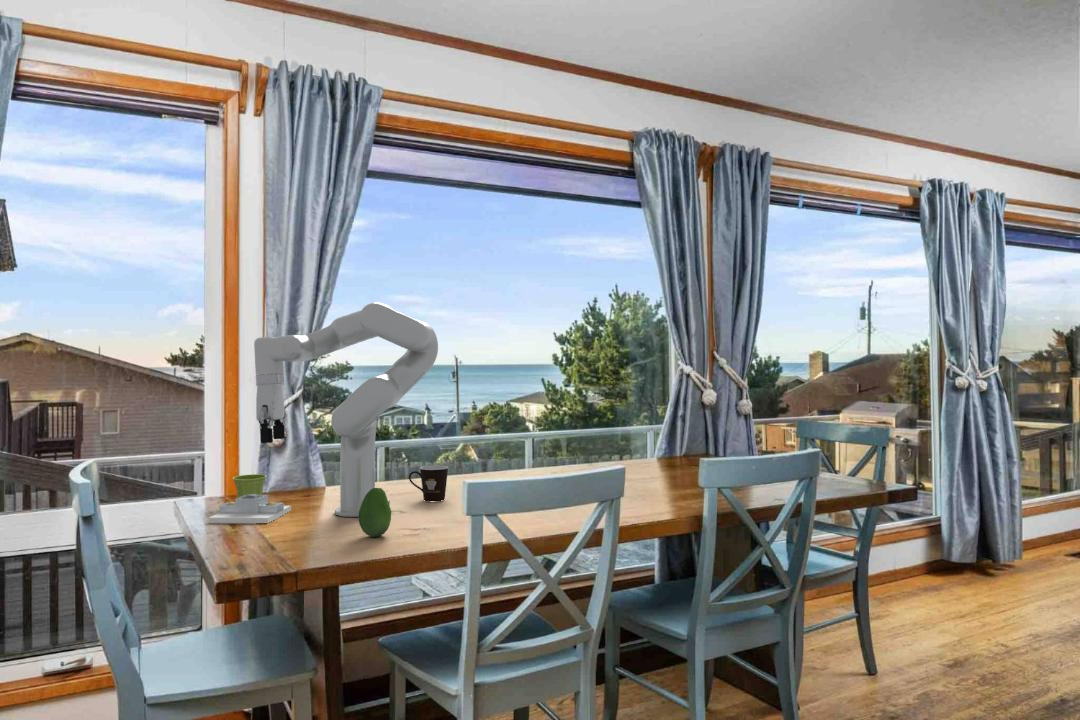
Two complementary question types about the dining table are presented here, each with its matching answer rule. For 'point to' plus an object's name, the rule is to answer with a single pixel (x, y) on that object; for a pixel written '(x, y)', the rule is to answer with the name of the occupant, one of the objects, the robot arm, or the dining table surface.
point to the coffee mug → (432, 482)
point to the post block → (247, 515)
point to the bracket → (251, 506)
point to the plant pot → (249, 484)
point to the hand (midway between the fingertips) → (273, 440)
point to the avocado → (375, 513)
